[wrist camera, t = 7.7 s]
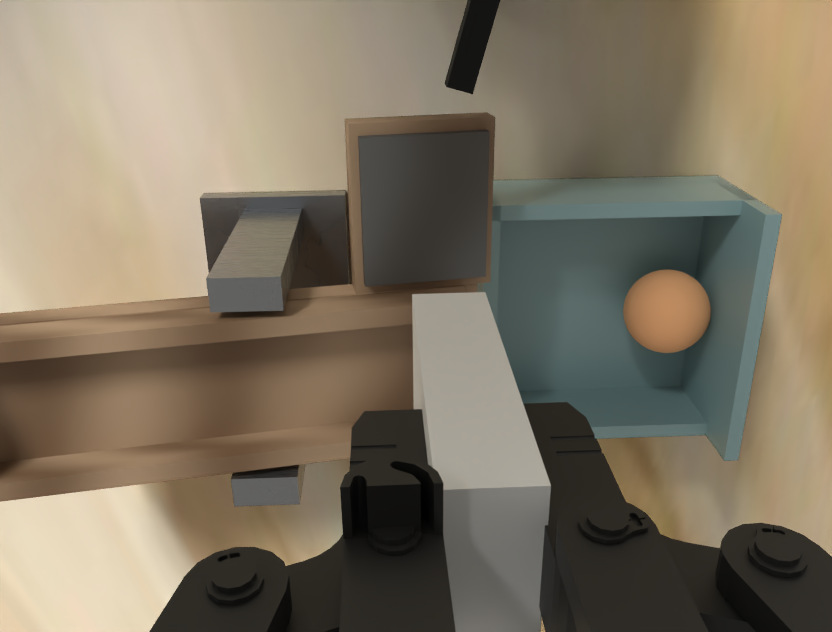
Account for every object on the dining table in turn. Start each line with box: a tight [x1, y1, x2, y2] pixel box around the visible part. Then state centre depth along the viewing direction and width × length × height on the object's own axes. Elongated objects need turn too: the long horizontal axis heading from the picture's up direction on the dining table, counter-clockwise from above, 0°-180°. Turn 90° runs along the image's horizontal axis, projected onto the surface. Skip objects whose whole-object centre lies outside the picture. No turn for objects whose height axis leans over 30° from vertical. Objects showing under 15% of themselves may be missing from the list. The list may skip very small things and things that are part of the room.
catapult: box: [0, 112, 495, 501], centre depth 27 cm, size 20×12×4 cm, turn 92°
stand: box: [200, 190, 350, 506], centre depth 32 cm, size 6×10×9 cm, turn 1°
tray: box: [477, 175, 782, 461], centre depth 34 cm, size 11×11×6 cm
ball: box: [623, 269, 711, 353], centre depth 34 cm, size 4×4×4 cm
